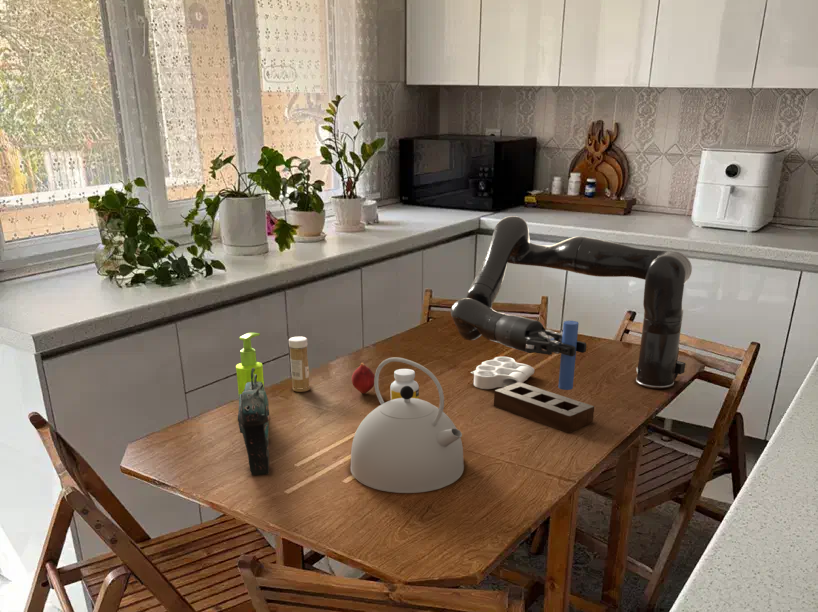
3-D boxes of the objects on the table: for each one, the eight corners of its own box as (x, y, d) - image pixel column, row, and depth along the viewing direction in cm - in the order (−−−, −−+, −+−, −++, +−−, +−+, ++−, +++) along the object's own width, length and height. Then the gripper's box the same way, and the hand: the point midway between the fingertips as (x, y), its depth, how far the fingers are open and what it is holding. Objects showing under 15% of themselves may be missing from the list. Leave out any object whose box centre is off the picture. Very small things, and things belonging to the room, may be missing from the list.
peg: (564, 384, 177) (569, 319, 171) (575, 387, 175) (581, 322, 169) (555, 387, 175) (560, 322, 169) (566, 391, 173) (572, 325, 167)
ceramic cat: (274, 477, 153) (266, 381, 145) (240, 480, 152) (230, 383, 144) (273, 437, 171) (266, 349, 163) (243, 439, 170) (235, 351, 162)
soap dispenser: (274, 415, 183) (267, 332, 175) (257, 425, 177) (249, 340, 169) (253, 411, 185) (246, 329, 177) (235, 421, 179) (227, 337, 171)
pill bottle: (416, 426, 176) (415, 377, 172) (388, 424, 177) (387, 375, 173) (421, 415, 182) (421, 368, 178) (394, 413, 183) (393, 366, 179)
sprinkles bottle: (313, 389, 199) (310, 338, 193) (299, 393, 196) (296, 342, 190) (302, 385, 202) (299, 334, 196) (288, 389, 199) (284, 338, 193)
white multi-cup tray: (514, 394, 195) (460, 385, 201) (538, 373, 209) (487, 365, 216) (514, 381, 193) (460, 373, 200) (538, 361, 208) (487, 353, 214)
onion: (380, 392, 197) (379, 361, 194) (366, 399, 192) (365, 368, 189) (361, 387, 200) (360, 358, 196) (347, 394, 195) (346, 364, 192)
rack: (518, 397, 193) (519, 381, 191) (592, 422, 178) (594, 406, 176) (493, 406, 188) (494, 390, 186) (568, 433, 172) (569, 416, 171)
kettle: (495, 468, 156) (500, 360, 147) (419, 509, 141) (419, 391, 132) (404, 434, 172) (404, 335, 163) (327, 468, 157) (321, 360, 148)
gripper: (499, 322, 175) (561, 339, 164) (540, 312, 184) (601, 327, 172) (498, 354, 178) (558, 373, 167) (537, 342, 187) (597, 359, 175)
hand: (579, 349), depth 169 cm, fingers closed on peg, 3 cm apart
